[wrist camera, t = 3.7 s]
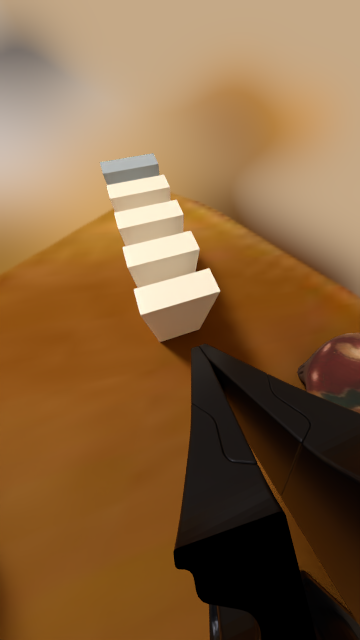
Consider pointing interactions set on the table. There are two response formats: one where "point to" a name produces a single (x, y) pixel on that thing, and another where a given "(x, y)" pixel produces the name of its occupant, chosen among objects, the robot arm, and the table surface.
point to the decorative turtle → (335, 371)
